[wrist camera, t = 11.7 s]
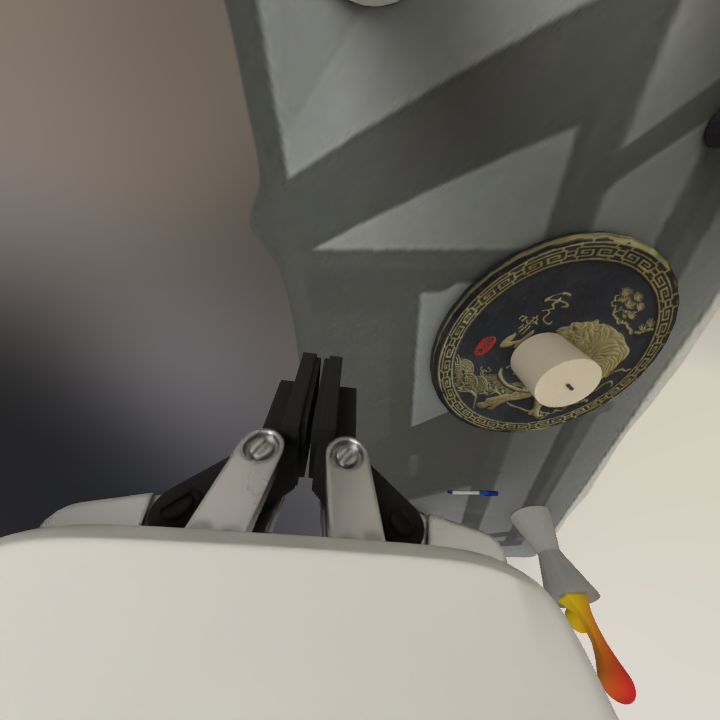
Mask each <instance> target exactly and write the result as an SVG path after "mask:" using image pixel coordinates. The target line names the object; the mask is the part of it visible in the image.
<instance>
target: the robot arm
mask: <svg viewBox="0 0 720 720" xmlns="http://www.w3.org/2000/svg"><path fill="white" fill-rule="evenodd" d="M349 1H352V2H355V3H358V4H360V5H363V6H384V5H388V4H392V3H396V2H398V1H400V0H349ZM320 366H321V358H318V357H317V354H313V353H305V352H304V353H303V356H302V360H301V363H300V366H299V369H298V372H297V376H296V379H295V382H294V381H286V380H281V382H280V384H279V387H278V389H277V392H276V394H275V397H274V400H273V402H272V405H271V408H270V410H269V413H268V416H267V418H266V421H265V424H264V426H263V429H257V430H254V431H252V432H250V433H248V434H247V435H245V436H244V437H243V439H242V440H241V441H240V443H239V444H238V446H237V447H236V449H235V450H234V452H233V453H232V455H231V456H229V457H228V458H226V459H224V460H222V461H220V462H218V463H217V464H215V465H213V466H211V467H209V468H208V469H206V470H204V471H202V472H200V473H198V474H196V475H195V476H193V477H191V478H189V479H187V480H186V481H184V482H182V483H180V484H178V485H176V486H175V487H173V488H171V489H169V490H168V491H166V492H165V493H163V494H162V495H156V496H154V494H153V493H148V494H140V495H133V496H125V497H118V498H111V499H103V500H96V501H88V502H82V503H77V504H73V505H69V506H67V507H65V508H63V509H61V510H59V511H57V512H55V513H54V514H53V515H52V516H50V517H49V518H48V519H46V520H45V521H44V523H43V524H42V525H41V526H40V527H39V528H38V529H33V530H28V531H24V532H20V533H15V534H12V535H8V536H5V537H1V538H0V720H618V717H617V715H616V713H615V712H614V709H613V707H612V705H611V703H610V701H609V699H608V697H607V695H606V692H605V690H604V688H603V686H602V684H601V682H600V680H599V678H598V676H597V674H596V672H595V670H594V668H593V666H592V664H591V662H590V660H589V658H588V656H587V654H586V652H585V650H584V648H583V647H582V645H581V643H580V641H579V639H578V637H577V636H576V634H575V632H574V630H573V628H572V627H571V625H570V623H569V621H568V620H567V618H566V617H565V615H564V613H563V612H562V610H561V609H560V607H559V606H558V605H557V603H556V602H555V601H554V599H553V598H552V597H551V596H550V594H549V593H548V592H547V591H546V590H545V589H544V588H543V587H541V586H540V585H539V584H538V583H537V582H536V581H534V580H533V579H531V578H530V577H529V576H527V575H526V574H524V573H523V572H521V571H519V570H518V569H516V568H514V567H512V566H511V565H509V564H507V560H506V557H505V554H504V551H503V549H502V548H501V546H500V544H499V543H498V542H497V541H496V540H495V539H494V538H493V537H492V536H491V535H489V534H487V533H485V532H483V531H480V530H477V529H474V528H471V527H468V526H465V525H462V524H459V523H456V522H453V521H450V520H447V519H444V518H441V517H437V516H434V515H431V514H429V515H428V516H425V515H422V514H419V512H418V511H417V510H416V509H415V507H414V506H413V505H411V504H410V503H409V502H408V501H407V500H406V499H405V498H404V497H403V496H402V495H401V494H400V493H399V492H398V491H397V490H396V489H395V488H394V487H393V486H392V485H391V484H390V483H389V482H388V481H387V480H386V479H385V478H384V477H383V476H382V475H381V474H380V473H378V472H377V471H376V470H375V469H374V468H373V467H372V466H371V465H370V460H369V455H368V452H367V449H366V447H365V446H364V444H363V443H362V442H360V441H359V440H358V439H356V388H347V387H340V378H341V368H342V357H337V356H330V359H327V358H325V360H324V366H323V371H322V376H321V382H320V387H319V378H320ZM318 391H319V392H318ZM310 443H311V448H310ZM309 448H310V462H309V478H313V483H312V491H313V492H314V493H315V494H316V496H318V498H319V499H320V533H321V537H315V536H300V535H299V536H298V535H285V534H271V533H272V530H273V528H274V525H275V523H276V520H277V517H278V515H279V512H280V510H281V507H282V505H283V502H284V498H285V495H286V494H287V493H289V492H290V491H292V490H293V489H294V488H295V485H297V484H298V479H299V477H304V475H305V470H306V464H307V459H308V454H309Z"/></svg>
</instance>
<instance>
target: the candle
mask: <svg viewBox="0 0 720 720" xmlns="http://www.w3.org/2000/svg"><path fill="white" fill-rule="evenodd" d="M511 368H512V370H513V371H514V373H515V374H516V375H517V376H518V378H519V379H520V380H521V381H522V383H523V384H524V385H525V386H526V388H527V389H528V390H529V391H530V392H531V394H532V395H533V396H534V397H535V399H536V400H537V401H538V402H539V403H540V404H542V405H544V406H548V407H563V406H567V405H571V404H573V403H576V402H578V401H580V400H582V399H583V398H585V397H586V396H588V395H589V394H590V393H591V392H592V391H593V390H594V389H595V388H596V387H597V386H598V384H599V382H600V380H601V377H602V371H601V368H600V366H599V365H598V364H597V363H596V362H595V361H594V360H592V359H591V358H590V357H588V356H587V355H586V354H584V353H583V352H582V351H581V350H579V349H578V348H577V347H575V346H574V345H573V344H571V343H570V342H569V341H568V340H566V339H565V338H564V337H562V336H561V335H559V334H556V333H541V334H537V335H534V336H532V337H530V338H528V339H526V340H525V341H523V342H522V343H521V344H520V345H519V346H518V347H517V348H516V349H515V351H514V352H513V354H512V357H511Z"/></svg>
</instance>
